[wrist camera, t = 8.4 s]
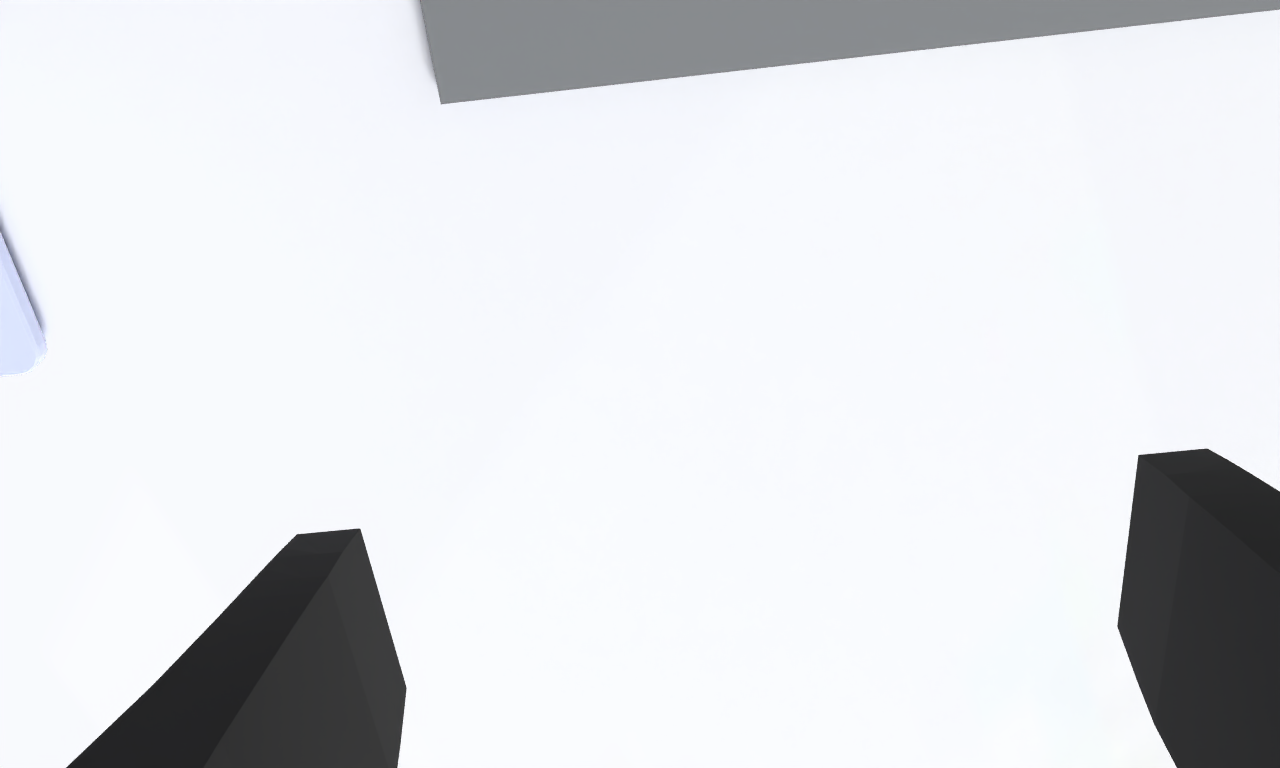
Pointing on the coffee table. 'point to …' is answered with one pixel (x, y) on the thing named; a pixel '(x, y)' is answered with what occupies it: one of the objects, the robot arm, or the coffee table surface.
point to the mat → (736, 34)
